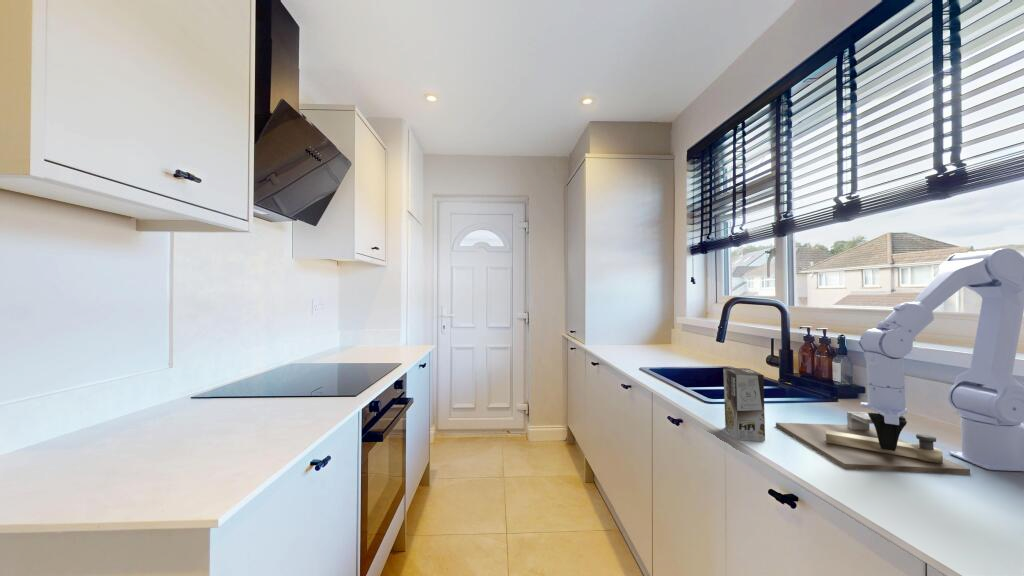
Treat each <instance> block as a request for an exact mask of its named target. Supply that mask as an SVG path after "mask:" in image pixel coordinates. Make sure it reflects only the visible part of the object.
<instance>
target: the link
mask: <svg viewBox="0 0 1024 576" xmlns="http://www.w3.org/2000/svg"><path fill="white" fill-rule="evenodd" d="M915 438H916V439H917V440H918V443H909V442H907V443H904V442H897V446H896V450H895V451H890V450H884V449H881V447H880V444H879V441H878V438H873V437H867V436H860V435H854V434H848V433H842V432H835V431H829V430H826V442H827V443H833V444H838V445H844V446H850V447H855V448H861V449H867V450H872V451H878V452H884V453H889V454H895V455H901V456H906V457H912V458H917V459H920V460H924V461H929V462H936V463H940V462H943V458H944V456H943V455H944V454H943V453H944V452H943V450H942V449H941V448H938V447H935V446H934V443H936V442H937V437H935V436H934V435H933V436H932V435H929V434H925V433H924V434H922V433H916V434H915Z"/></svg>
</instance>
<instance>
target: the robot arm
mask: <svg viewBox="0 0 1024 576" xmlns="http://www.w3.org/2000/svg"><path fill="white" fill-rule="evenodd" d="M938 271H939V272H938V273H937V274H936V275H935V276H934V277H933V279H931V281H930V282H929V283H928V284H927V285H926V286H925V288H924V289H922V291H921V292H920V293H919V294H918V295H917V296H916V297H915V299H913V301H911V302H910V301H909V302H906V301H905V302H902V303H899V304H896V305H895V306H894V307H893V308H892V309H893V311H892V312H891V313H889V315H888V316H887V317H885V318H884V319H883V320H882V321H879V322H878V323H877V326H876V327H875V328H869V329H866V330H865V331H864V332H863V333H862V334H861V336H860V338H859V340H857V345H858V347H859V349H860V350H861V351H862V352H863V358H864V360H865V362H866V386H867V387H866V390H867V402H863V401H862V402H860V406H861V408H867V409H869V410H870V411H872V412H867V413H868V415H869V417H870V419H871V420H872V422H873V426H874V429H876V432H877V437H878V441H879V444H880V447H881V449H884V450H890V451H895V450H896V446H897V442H898V439H900V438H899V437H900V434H901V432H902V431H903V429H904V427H906V425H907V423H908V421H907V420H906V418H905V416H904V415H906V414H907V413H908V408H906V387H905V386H906V385H905V363H904V361H905V360H904V357H906V356H907V355H909V354H911V352H912V350H913V347H914V346H913V345H914V341H915V340H916V337H917V336H918V335H919V334H920V333H921V332H922V331H923V330H925V329H926V327H928V325H930V324H931V323H932V322H933V321H934V320H935V317H934V312H933V311H935V309H937V308H938V307H940V305H942V304H943V303H945V302H946V301H947V300H948V299H950V298H951V297H952V296H953V295H955V294H956V293H957V292H959V291H960V290H961V289H962V288H963V287H965V288H966V289H969V290H970V291H972V292H975V293H976V294H977V295H979V296H980V297H981V298H982V299H981V306H980V310H979V316H978V324H977V329H976V334H975V339H974V344H973V350H972V355H971V363H970V367H969V369H968V370H965V371H964V372H962V373H960V374H958V375H956V376H955V381H954V383H953V385H952V386H951V388H949V390H948V393H947V400H948V402H949V404H950V406H951V407H952V408H954V409H955V410H956V414H957V415H960V434H961V435H960V437H961V439H960V440H961V451H948V454H950V455H952V456H954V457H956V458H959V459H961V460H964V461H967V462H968V463H971V464H974V465H976V466H978V467H980V468H982V469H985V470H991V471H1007V472H1008V471H1009V472H1010V471H1012V472H1024V385H1023V384H1021V383H1020V381H1017V380H1016V379H1015V378H1014V377H1013V371H1014V366H1015V362H1016V361H1015V360H1016V356H1017V349H1018V345H1019V339H1020V332H1021V327H1022V322H1023V316H1024V256H1023V255H1022V254H1021V253H1020V252H1018V251H1017V250H1015V249H1013V248H1007V247H1006V248H1005V247H1003V248H998V249H994V250H993V249H992V250H984V251H974V252H957V253H953V254H951V255H950V256H948V257H947V258H946V259H945V261H944V262H942V263H940V265H939V266H938ZM986 386H988V387H986ZM989 387H991V388H989Z"/></svg>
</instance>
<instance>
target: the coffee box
mask: <svg viewBox="0 0 1024 576" xmlns="http://www.w3.org/2000/svg"><path fill="white" fill-rule="evenodd" d="M764 377H765V375H764V374H762V373H760V372H757V371H755V370H753V369H750V368H748V367H747V368H743V367H742V368H741V367H739V368H738V367H737V368H736V367H734V368H723V394H724V396H723V398H724V400H723V401H724V423H725V424H724V425H725V426H724V427H725V428H724V429H726V430H727V431H728V432H729V433H730V434H731V435H732V436H733V437H735V439H737V440H738V441H750V442H752V441H753V442H762V441H763V442H765V441H766V419H765V417H766V416H765V384H764V383H765V382H764V379H765V378H764Z"/></svg>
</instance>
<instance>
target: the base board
mask: <svg viewBox="0 0 1024 576" xmlns="http://www.w3.org/2000/svg"><path fill="white" fill-rule="evenodd" d="M868 413H869V412H865V411H846V419H847V423H846V424H832V423H831V424H830V423H829V424H828V423H798V422H797V423H796V422H794V423H793V422H775V428H778V429H780V430H781V431H782V432H785V433H786V434H787V435H789V436H791V437H793V438H794V439H795V440H797V441H799V442H800V443H803V444H804V445H806V446H807V447H808V448H810V449H812V450H814V451H815V452H817V453H818V454H820V455H821V456H823V457H825V458H827V459H828V460H830V461H831V462H833V463H835V464H836V465H838V466H839V467H841V468H842V469H846V470H868V471H887V472H889V471H890V472H891V471H892V472H909V473H910V472H913V473H914V472H915V473H929V474H930V473H932V474H933V473H934V474H936V473H937V474H951V475H952V474H955V475H956V474H957V475H971V469H970V468H968V467H966V466H963V465H961V464H959V463H957V462H955V461H951V460H949V459H947V458H945V457H943V462H940V463H936V462H929V461H924V460H920V459H917V458H912V457H906V456H901V455H895V454H889V453H884V452H878V451H872V450H867V449H861V448H855V447H850V446H844V445H838V444H833V443H827V442H826V430H829V431H835V432H842V433H848V434H854V435H860V436H867V437H873V438H878V437H877V432H876V429H875V427H872V426H870V425H872V424H873V422H872V420H871V419H870V417H869V415H868ZM873 425H874V424H873ZM898 442H904V443H908V442H907V441H905V440H903V439H900V438H898Z"/></svg>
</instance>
